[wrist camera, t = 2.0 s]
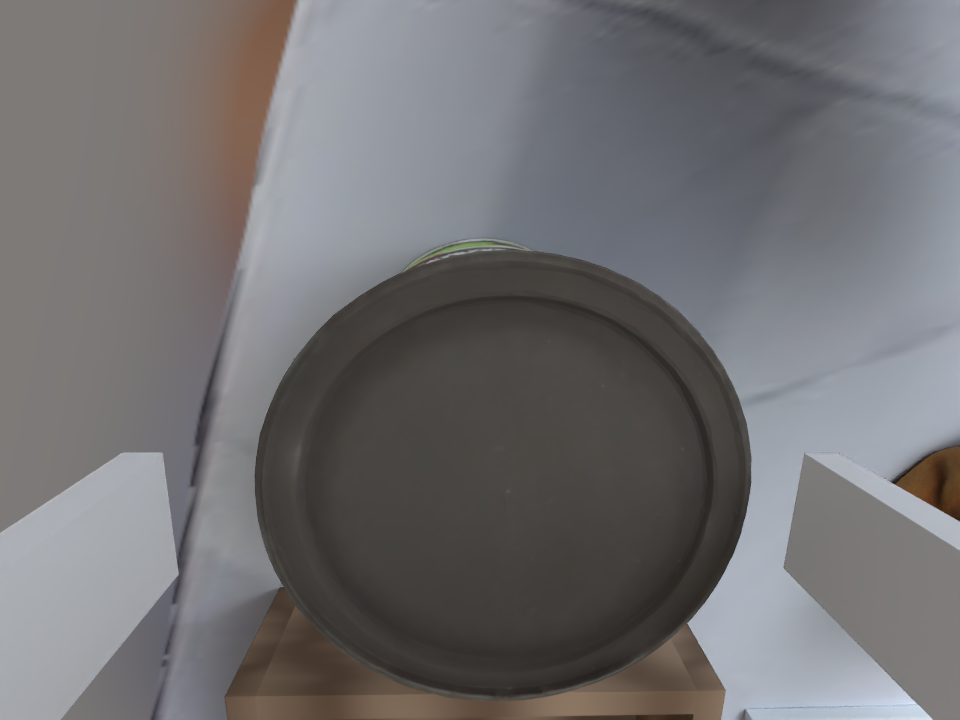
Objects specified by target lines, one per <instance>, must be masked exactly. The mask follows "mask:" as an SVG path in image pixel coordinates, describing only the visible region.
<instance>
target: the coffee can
mask: <svg viewBox="0 0 960 720" xmlns="http://www.w3.org/2000/svg"><path fill="white" fill-rule="evenodd" d="M750 487H751V452H750V443H749V436H748V430H747V424H746V420H745V417H744V414H743V411H742V408H741V405H740V402H739V398H738V396H737V394H736V391H735V389H734V387H733V385H732V382H731V381H730V379H729V377H728V375H727V373H726V371H725V369H724V367H723V365H722V364H721V362H720V361H719V359H718V358H717V356H716V354H715V353H714V351H713V350H712V349H711V347H710V346H709V345H708V343H707V342H706V341H705V340H704V338H703V337H702V336H701V335H700V333H699V332H698V331H697V330H696V329H695V328H694V327H693V326H692V325H691V324H690V322H689V321H688V320H687V319H686V318H685V317H684V316H683V315H682V314H681V313H680V312H679V311H678V310H677V309H675V308H674V307H673V306H671V305H670V304H669V303H667V302H666V301H665V300H663V299H662V298H661V297H659V296H658V295H656V294H655V293H653V292H652V291H650V290H648V289H647V288H645V287H644V286H642V285H641V284H639V283H638V282H636V281H633V280H631V279H629V278H627V277H625V276H623V275H621V274H618V273H616V272H614V271H612V270H609V269H607V268H605V267H602V266H598V265H595V264H592V263H589V262H586V261H583V260H580V259H575V258H570V257H565V256H561V255H557V254H551V253H544V252H537V251H532V250H531V249H528V248H526V247H524V246H521V245H519V244H516V243H513V242H509V241H505V240H498V239H488V238H479V239H467V240H461V241H456V242H452V243H449V244H446V245H443V246H440V247H438V248H435V249H433V250H431V251H428V252H427V253H425V254H424V255H422V256H421V257H419V258H418V259H416V260H415V261H414V262H412V263H411V264H410V265H409V266H408V267H407V268H406V269H405V270H404V271H403V272H402V273H400V274H398V275H396V276H394V277H392V278H390V279H388V280H386V281H384V282H382V283H380V284H379V285H377V286H375V287H374V288H372V289H370V290H369V291H367V292H365V293H364V294H362V295H360V296H359V297H358V298H356V299H355V300H354V301H352V302H351V303H349V304H348V305H347V306H345V307H344V308H343V309H341V310H340V311H339V312H337V313H336V314H334V315H333V316H332V317H331V318H330V319H329V320H328V321H327V322H326V323H325V324H324V325H323V326H322V327H321V328H320V329H319V330H318V331H317V333H316V334H315V335H314V336H313V337H312V338H311V340H310V341H309V342H308V343H307V344H306V345H305V347H304V348H303V349H302V350H301V352H300V353H299V354H298V355H297V357H296V358H295V359H294V361H293V362H292V364H291V365H290V367H289V369H288V370H287V372H286V373H285V375H284V377H283V379H282V381H281V383H280V385H279V386H278V389H277V391H276V393H275V395H274V398H273V400H272V402H271V404H270V407H269V409H268V412H267V414H266V417H265V421H264V424H263V427H262V430H261V433H260V437H259V443H258V450H257V457H256V467H255V496H256V505H257V515H258V521H259V526H260V530H261V534H262V537H263V541H264V544H265V548H266V551H267V553H268V556H269V558H270V561H271V563H272V565H273V568H274V570H275V572H276V574H277V576H278V577H279V579H280V581H281V583H282V585H283V586H284V588H285V590H286V591H287V593H288V595H289V596H290V598H291V599H292V601H293V602H294V604H295V605H296V607H297V608H298V609H299V611H300V612H301V613H302V614H303V615H304V616H305V617H306V618H307V620H308V621H309V622H310V623H311V624H312V625H313V627H314V628H315V629H316V630H318V631H319V632H320V633H321V634H322V635H323V636H324V637H325V638H326V639H327V640H328V641H329V642H330V643H331V644H333V645H334V646H335V647H337V648H338V649H339V650H341V651H342V652H343V653H345V654H346V655H347V656H349V657H350V658H351V659H353V660H354V661H356V662H358V663H359V664H361V665H363V666H364V667H366V668H368V669H369V670H371V671H373V672H375V673H377V674H379V675H381V676H383V677H385V678H388V679H390V680H392V681H394V682H397V683H399V684H401V685H404V686H407V687H410V688H414V689H418V690H421V691H424V692H428V693H431V694H436V695H440V696H444V697H448V698H456V699H465V700H473V701H517V700H529V699H536V698H543V697H548V696H553V695H558V694H561V693H565V692H569V691H572V690H576V689H579V688H582V687H585V686H588V685H591V684H594V683H597V682H599V681H602V680H604V679H606V678H609V677H611V676H614V675H616V674H618V673H620V672H622V671H624V670H626V669H627V668H629V667H630V666H632V665H634V664H636V663H638V662H639V661H641V660H643V659H644V658H646V657H647V656H648V655H650V654H651V653H652V652H654V651H655V650H657V649H658V648H659V647H661V646H662V645H663V644H664V643H666V642H667V641H668V640H669V639H670V638H672V637H673V636H674V635H675V634H676V633H677V632H678V631H679V630H680V629H681V628H682V627H683V626H684V625H685V624H686V623H687V622H689V621H690V620H691V618H692V617H693V616H694V615H695V614H696V613H697V611H698V610H699V609H700V608H701V607H702V605H703V604H704V603H705V602H706V600H707V599H708V597H709V596H710V594H711V593H712V591H713V590H714V588H715V587H716V585H717V584H718V582H719V580H720V579H721V577H722V575H723V573H724V572H725V570H726V568H727V565H728V563H729V561H730V560H731V558H732V556H733V554H734V551H735V548H736V545H737V543H738V540H739V537H740V534H741V531H742V527H743V522H744V519H745V516H746V511H747V505H748V500H749V494H750Z"/></svg>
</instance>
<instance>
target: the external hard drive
mask: <svg viewBox="0 0 960 720" xmlns="http://www.w3.org/2000/svg"><path fill="white" fill-rule="evenodd" d="M744 720H933V719H932V718H931V717H930V716H929V715H928V714H927V713H926V712H925V711H924V710H923V709H922V708H921V707H920V706H919V705H884V706H839V707H793V708H746V709H745V715H744Z"/></svg>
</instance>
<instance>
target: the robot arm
mask: <svg viewBox="0 0 960 720" xmlns="http://www.w3.org/2000/svg"><path fill="white" fill-rule="evenodd" d="M784 569H785V570H786V571H787V572H788V573H789V574H790V575H791V576H792V577H793V578H794V579H795V580H796V581H797V582H798V583H799V584H800V585H801V586H802V587H803V588H804V589H805V590H806V591H807V592H808V593H809V594H810V595H811V596H812V597H813V598H814V599H815V600H816V601H817V602H818V603H819V604H820V606H821V607H822V608H823V609H824V610H825V611H826V612H827V613H828V614H829V615H830V616H831V617H832V618H833V619H834V620H835V621H836V622H837V623H838V624H839V625H840V626H841V627H842V628H843V629H844V630H845V631H846V632H847V633H848V634H849V635H850V636H851V637H852V638H853V639H854V640H855V641H856V642H857V643H858V644H859V645H860V646H861V647H862V648H863V649H864V650H865V651H866V652H867V653H868V654H869V655H870V656H871V657H872V658H873V659H874V660H875V661H876V662H877V663H878V664H879V665H880V666H881V667H882V668H883V669H884V670H885V672H886V673H887V674H888V675H889V676H890V677H891V678H892V679H893V680H894V681H895V682H896V683H897V684H898V685H899V686H900V687H901V688H902V689H903V690H904V691H905V692H906V693H907V694H908V695H909V696H910V697H911V698H912V699H913V700H914V701H915V702H916V703H917V704H918V705H919V706H920V707H921V708H922V709H923V710H924V711H925V712H926V713H927V714H928V715H929V716H930V717H931V718H932V719H933V720H960V521H958V520H956V519H954V518H952V517H951V516H949V515H947V514H945V513H944V512H942V511H940V510H938V509H937V508H935V507H933V506H931V505H930V504H928V503H926V502H924V501H923V500H921V499H919V498H917V497H916V496H914V495H912V494H910V493H909V492H907V491H905V490H903V489H902V488H900V487H898V486H896V485H895V484H893V483H891V482H889V481H887V480H886V479H884V478H882V477H880V476H879V475H877V474H875V473H873V472H872V471H870V470H868V469H866V468H865V467H863V466H861V465H859V464H858V463H856V462H854V461H852V460H851V459H849V458H847V457H845V456H844V455H842V454H840V453H804V458H803V464H802V469H801V475H800V480H799V486H798V491H797V497H796V502H795V508H794V513H793V519H792V524H791V530H790V535H789V541H788V546H787V552H786V557H785V562H784ZM178 575H179V573H178V565H177V558H176V550H175V543H174V535H173V528H172V520H171V513H170V505H169V497H168V490H167V482H166V474H165V467H164V460H163V453H161V452H158V453H157V452H156V453H155V452H153V453H151V452H148V453H146V452H143V453H142V452H139V453H138V452H136V453H135V452H134V453H133V452H125V453H124V452H123V453H121V454H119V455H118V456H116V457H115V458H114V459H112V460H110V461H109V462H107V463H106V464H104V465H103V466H101V467H100V468H98V469H97V470H95V471H94V472H92V473H91V474H89V475H87V476H86V477H84V478H83V479H81V480H80V481H78V482H77V483H75V484H74V485H72V486H71V487H69V488H68V489H66V490H65V491H63V492H62V493H60V494H59V495H57V496H56V497H54V498H53V499H51V500H49V501H48V502H46V503H45V504H43V505H42V506H40V507H39V508H37V509H36V510H34V511H33V512H31V513H30V514H28V515H27V516H25V517H24V518H22V519H20V520H19V521H18V522H16V523H15V524H13V525H11V526H10V527H8V528H7V529H5V530H4V531H2V532H1V533H0V720H61V719H62V717H63V716H64V715H65V714H66V713H67V711H68V710H69V709H70V708H71V706H72V705H73V704H74V703H75V702H76V700H77V699H78V698H79V697H80V695H81V694H82V693H83V692H84V690H85V689H86V688H87V687H88V685H89V684H90V683H91V682H92V681H93V679H94V678H95V677H96V676H97V674H98V673H99V672H100V671H101V669H102V668H103V667H104V666H105V664H106V663H107V662H108V661H109V660H110V658H111V657H112V656H113V655H114V653H115V652H116V651H117V650H118V649H119V647H120V646H121V645H122V643H123V642H124V641H125V640H126V639H127V637H128V636H129V635H130V634H131V633H132V631H133V630H134V629H135V628H136V626H137V625H138V624H139V623H140V621H141V620H142V619H143V618H144V617H145V615H146V614H147V613H148V612H149V610H150V609H151V608H152V606H153V605H154V604H155V603H156V602H157V600H158V599H159V598H160V597H161V596H162V594H163V593H164V592H165V591H166V589H167V588H168V587H169V586H170V584H171V583H172V582H173V581H174V580H175V578H176V577H177V576H178Z"/></svg>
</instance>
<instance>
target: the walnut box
mask: <svg viewBox="0 0 960 720" xmlns="http://www.w3.org/2000/svg"><path fill="white" fill-rule="evenodd" d="M725 691H726V690H725V688H724V687H723V685H722V683H721V681H720V680H719V678H718V676H717V674H716V673H715V671H714V669H713V668H712V666H711V664H710V662H709V661H708V659H707V657H706V655H705V654H704V652H703V650H702V648H701V647H700V645H699V643H698V641H697V640H696V638H695V636H694V634H693V633H692V631H691V629H690V628H689V626H688V624H687V623H686V624H685V625H684V626H683V627H682V628H681V629H680V630H679V631H678V632H677V633H676V634H675V635H674V636H673V637H672V638H670V639H669V640H668V641H667V642H666V643H664V644H663V645H662V646H661V647H659V648H658V649H657V650H655V651H654V652H652V653H651V654H650V655H648V656H647V657H646V658H644V659H643V660H641V661H639V662H638V663H636V664H634V665H632V666H630V667H629V668H627V669H626V670H624V671H622V672H620V673H618V674H616V675H614V676H611V677H609V678H606V679H604V680H602V681H599V682H597V683H594V684H591V685H588V686H585V687H582V688H579V689H576V690H572V691H569V692H565V693H561V694H558V695H553V696H548V697H543V698H536V699H529V700H517V701H473V700H465V699H456V698H448V697H444V696H440V695H436V694H431V693H428V692H424V691H421V690H418V689H414V688H410V687H407V686H404V685H401V684H399V683H397V682H394V681H392V680H390V679H388V678H385V677H383V676H381V675H379V674H377V673H375V672H373V671H371V670H369V669H368V668H366V667H364V666H363V665H361V664H359V663H358V662H356V661H354V660H353V659H351V658H350V657H349V656H347V655H346V654H345V653H343V652H342V651H341V650H339V649H338V648H337V647H335V646H334V645H333V644H331V643H330V642H329V641H328V640H327V639H326V638H325V637H324V636H323V635H322V634H321V633H320V632H319V631H318V630H316V629H315V628H314V627H313V625H312V624H311V623H310V622H309V621H308V620H307V618H306V617H305V616H304V615H303V614H302V613H301V612H300V611H299V609H298V608H297V607H296V605H295V604H294V602H293V601H292V599H291V598H290V596H289V595H288V593H287V591H286V590H285V588H280V589H279V591H278V593H277V595H276V597H275V599H274V601H273V603H272V605H271V607H270V609H269V611H268V612H267V614H266V616H265V618H264V620H263V622H262V624H261V626H260V628H259V630H258V632H257V634H256V636H255V638H254V640H253V642H252V644H251V646H250V648H249V650H248V652H247V654H246V656H245V658H244V660H243V662H242V664H241V666H240V668H239V670H238V672H237V674H236V676H235V678H234V680H233V682H232V683H231V685H230V687H229V689H228V691H227V693H226V695H225V703H226V711H227V719H228V720H721V715H722V709H723V703H724V697H725Z"/></svg>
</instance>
